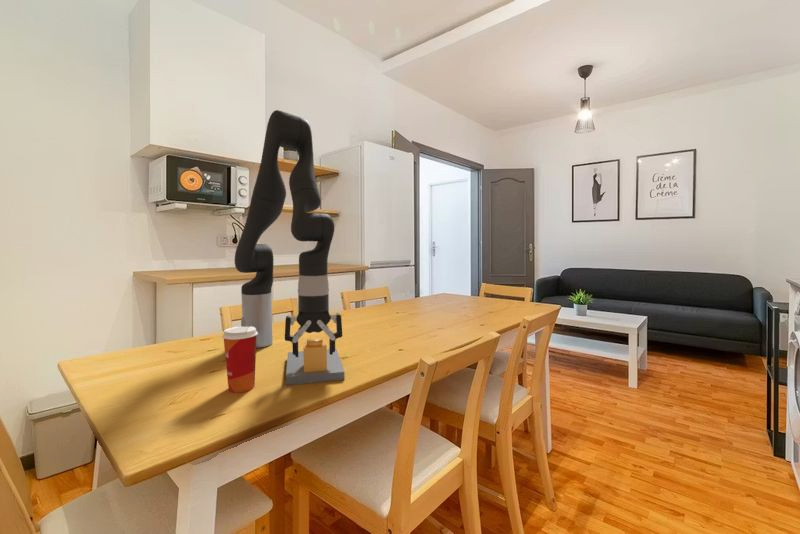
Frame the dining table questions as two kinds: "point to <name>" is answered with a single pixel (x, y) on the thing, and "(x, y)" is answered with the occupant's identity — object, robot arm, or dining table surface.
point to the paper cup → (240, 357)
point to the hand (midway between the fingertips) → (314, 355)
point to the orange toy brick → (315, 355)
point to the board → (298, 375)
